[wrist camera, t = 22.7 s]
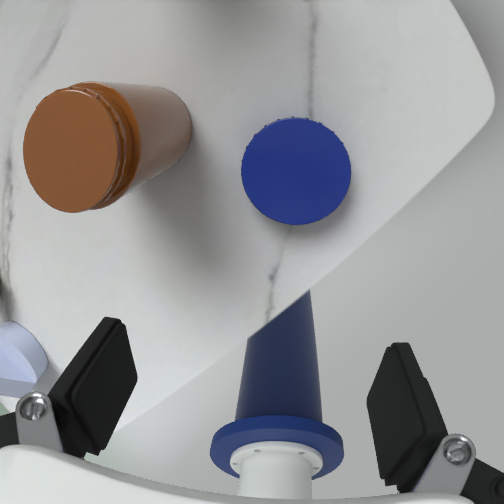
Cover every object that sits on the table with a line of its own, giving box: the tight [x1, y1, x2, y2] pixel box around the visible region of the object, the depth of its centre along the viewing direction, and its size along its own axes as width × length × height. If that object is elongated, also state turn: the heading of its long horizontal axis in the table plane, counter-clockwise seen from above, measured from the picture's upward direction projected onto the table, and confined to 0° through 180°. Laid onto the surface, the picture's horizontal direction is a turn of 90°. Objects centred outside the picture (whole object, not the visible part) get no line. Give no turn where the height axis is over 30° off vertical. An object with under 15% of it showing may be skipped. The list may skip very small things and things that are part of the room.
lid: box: [241, 116, 351, 225], centre depth 21 cm, size 8×8×2 cm
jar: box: [23, 81, 192, 213], centre depth 17 cm, size 7×7×11 cm
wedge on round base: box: [0, 321, 48, 398], centre depth 33 cm, size 9×7×13 cm
